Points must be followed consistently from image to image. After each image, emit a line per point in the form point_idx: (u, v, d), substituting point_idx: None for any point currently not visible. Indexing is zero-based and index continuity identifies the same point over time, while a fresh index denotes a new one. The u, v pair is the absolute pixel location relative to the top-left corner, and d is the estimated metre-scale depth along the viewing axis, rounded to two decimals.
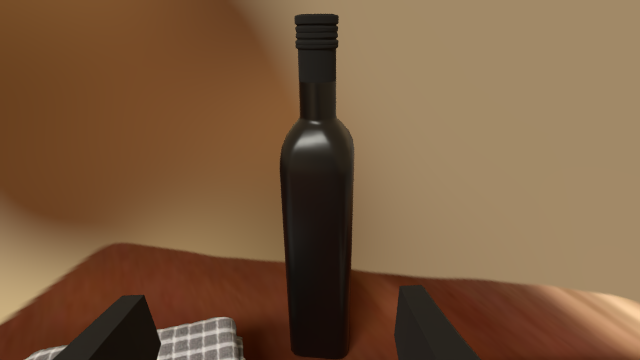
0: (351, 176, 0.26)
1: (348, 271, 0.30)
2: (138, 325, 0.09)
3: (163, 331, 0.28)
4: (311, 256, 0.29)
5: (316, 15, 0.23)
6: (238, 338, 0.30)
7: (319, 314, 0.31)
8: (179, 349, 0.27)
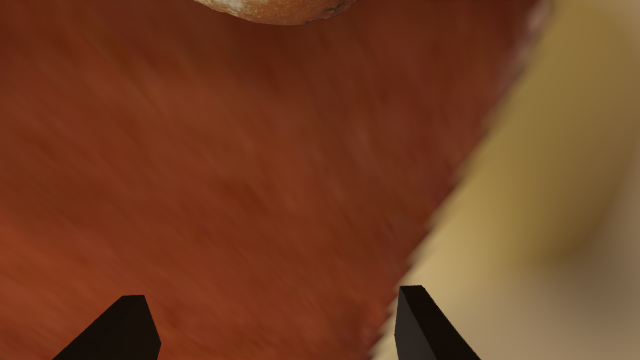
0: None
1: None
2: (138, 325, 0.09)
3: None
4: None
5: None
6: None
7: None
8: None
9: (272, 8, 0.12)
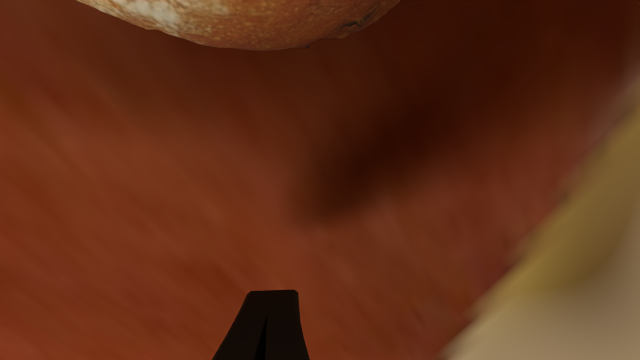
0: None
1: None
2: None
3: None
4: None
5: None
6: None
7: None
8: None
9: (240, 24, 0.06)
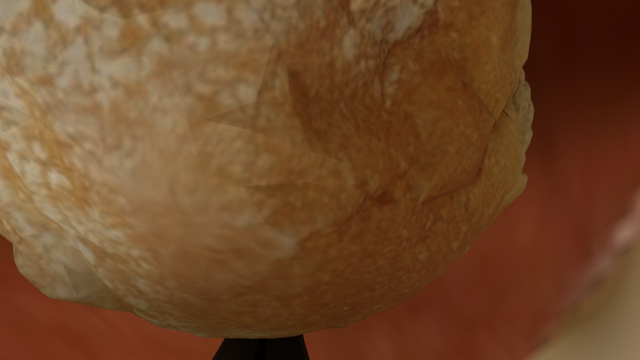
0: None
1: None
2: None
3: None
4: None
5: None
6: None
7: None
8: None
9: None
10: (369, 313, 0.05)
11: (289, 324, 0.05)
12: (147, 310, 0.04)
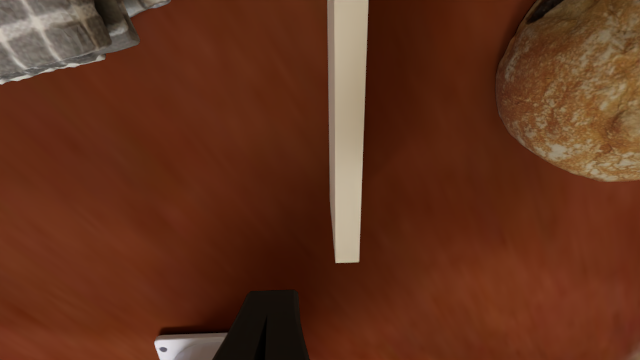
0: None
1: None
2: None
3: None
4: None
5: None
6: None
7: None
8: None
9: (633, 179, 0.15)
10: None
11: None
12: None
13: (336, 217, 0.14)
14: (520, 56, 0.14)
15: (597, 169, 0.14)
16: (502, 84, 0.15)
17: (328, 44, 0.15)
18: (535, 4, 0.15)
